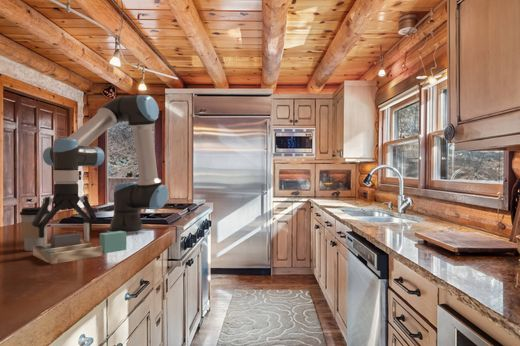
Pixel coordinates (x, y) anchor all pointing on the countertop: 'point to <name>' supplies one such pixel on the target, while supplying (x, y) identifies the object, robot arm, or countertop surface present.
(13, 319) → the countertop surface
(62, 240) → the gray rectangular block
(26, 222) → the coffee cup
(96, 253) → the slot rack
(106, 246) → the teal stub
